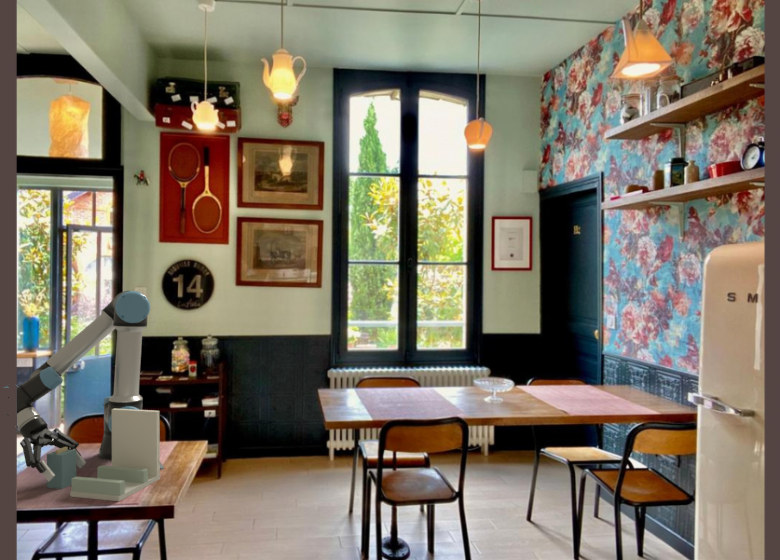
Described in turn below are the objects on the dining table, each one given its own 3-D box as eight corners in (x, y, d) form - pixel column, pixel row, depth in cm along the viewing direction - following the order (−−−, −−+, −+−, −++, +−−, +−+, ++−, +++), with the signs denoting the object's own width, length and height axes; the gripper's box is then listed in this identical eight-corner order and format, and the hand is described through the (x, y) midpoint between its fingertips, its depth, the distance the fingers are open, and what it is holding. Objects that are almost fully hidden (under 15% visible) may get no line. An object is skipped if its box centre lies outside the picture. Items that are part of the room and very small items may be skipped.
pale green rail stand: (115, 475, 194) (115, 408, 194) (160, 478, 190) (159, 410, 190) (70, 496, 175) (70, 422, 175) (119, 501, 171) (118, 425, 171)
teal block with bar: (61, 481, 189) (61, 445, 189) (76, 482, 187) (76, 446, 187) (46, 487, 183) (46, 450, 183) (62, 488, 181) (61, 451, 182)
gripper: (53, 422, 201) (89, 467, 197) (-10, 441, 177) (29, 492, 173) (65, 408, 199) (101, 453, 196) (3, 425, 176) (43, 477, 172)
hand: (67, 471), depth 185 cm, fingers open, 12 cm apart
